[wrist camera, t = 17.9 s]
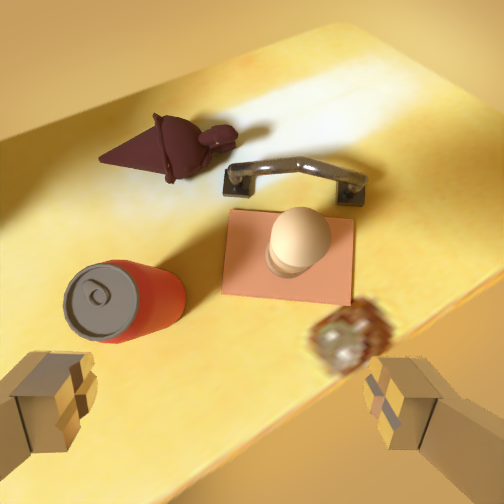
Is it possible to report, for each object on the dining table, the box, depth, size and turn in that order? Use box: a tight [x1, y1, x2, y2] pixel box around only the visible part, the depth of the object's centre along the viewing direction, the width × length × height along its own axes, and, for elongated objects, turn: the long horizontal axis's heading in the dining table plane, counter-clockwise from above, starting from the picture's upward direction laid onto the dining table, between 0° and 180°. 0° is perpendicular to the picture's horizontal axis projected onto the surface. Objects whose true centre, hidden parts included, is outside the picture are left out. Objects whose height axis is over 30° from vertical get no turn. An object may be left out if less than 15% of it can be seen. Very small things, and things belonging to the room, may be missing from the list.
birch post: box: [265, 207, 331, 279], centre depth 27 cm, size 5×5×11 cm
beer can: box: [63, 260, 186, 344], centre depth 27 cm, size 7×7×12 cm
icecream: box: [99, 113, 238, 184], centre depth 32 cm, size 7×7×15 cm
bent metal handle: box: [223, 156, 368, 207], centre depth 30 cm, size 16×3×7 cm, turn 85°
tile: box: [221, 209, 354, 306], centre depth 33 cm, size 14×10×1 cm
